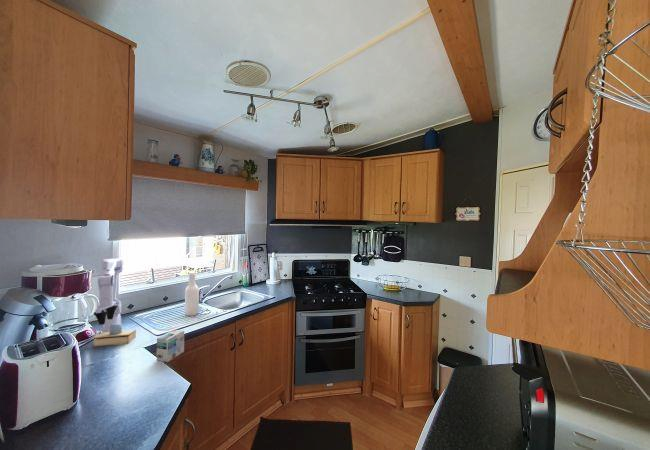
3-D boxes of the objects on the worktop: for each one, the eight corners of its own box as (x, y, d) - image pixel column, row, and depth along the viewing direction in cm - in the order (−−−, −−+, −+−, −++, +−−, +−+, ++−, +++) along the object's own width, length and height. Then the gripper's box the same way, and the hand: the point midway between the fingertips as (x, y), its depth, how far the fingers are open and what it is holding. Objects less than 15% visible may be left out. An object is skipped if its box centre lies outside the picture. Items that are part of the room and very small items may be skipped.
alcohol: (193, 311, 187) (193, 270, 187) (201, 312, 184) (201, 271, 183) (182, 314, 179) (182, 272, 179) (190, 316, 176) (190, 274, 175)
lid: (102, 333, 141) (102, 332, 141) (135, 330, 144) (135, 329, 145) (93, 338, 133) (93, 337, 133) (128, 335, 137) (128, 334, 137)
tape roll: (117, 331, 142) (117, 322, 142) (123, 332, 141) (124, 323, 141) (106, 334, 137) (107, 325, 138) (113, 335, 136) (114, 325, 136)
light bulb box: (167, 362, 119) (167, 339, 118) (155, 360, 120) (155, 338, 120) (184, 351, 129) (184, 330, 129) (173, 349, 130) (173, 329, 130)
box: (102, 339, 141) (102, 333, 141) (135, 336, 145) (135, 330, 144) (93, 346, 133) (93, 339, 133) (128, 343, 137) (128, 336, 137)
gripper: (105, 294, 146) (105, 317, 146) (88, 301, 132) (88, 327, 132) (119, 293, 148) (119, 316, 148) (104, 300, 134) (104, 326, 134)
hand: (106, 321), depth 140 cm, fingers open, 7 cm apart
